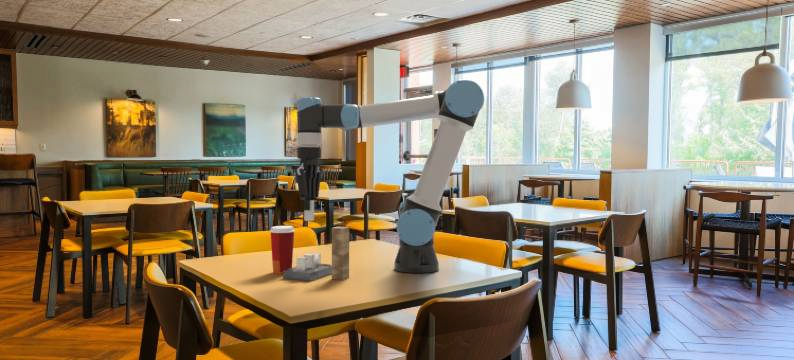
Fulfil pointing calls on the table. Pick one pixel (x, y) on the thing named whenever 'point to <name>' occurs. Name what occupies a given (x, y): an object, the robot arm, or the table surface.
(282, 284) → the table surface
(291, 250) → the coffee cup
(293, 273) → the breaker board
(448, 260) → the table surface
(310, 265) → the breaker paddle
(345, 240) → the mottled brown post
